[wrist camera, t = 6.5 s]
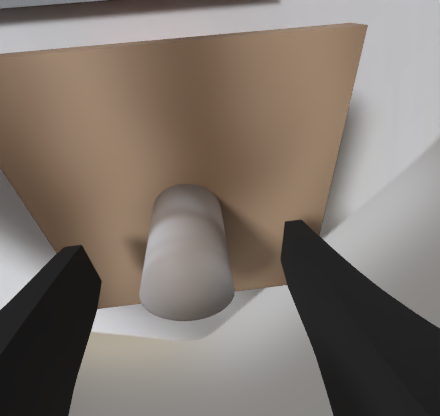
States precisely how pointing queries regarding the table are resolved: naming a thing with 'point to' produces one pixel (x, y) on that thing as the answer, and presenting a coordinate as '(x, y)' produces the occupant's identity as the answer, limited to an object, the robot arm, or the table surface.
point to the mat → (37, 2)
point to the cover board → (179, 155)
